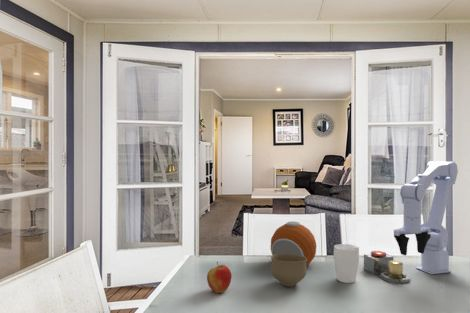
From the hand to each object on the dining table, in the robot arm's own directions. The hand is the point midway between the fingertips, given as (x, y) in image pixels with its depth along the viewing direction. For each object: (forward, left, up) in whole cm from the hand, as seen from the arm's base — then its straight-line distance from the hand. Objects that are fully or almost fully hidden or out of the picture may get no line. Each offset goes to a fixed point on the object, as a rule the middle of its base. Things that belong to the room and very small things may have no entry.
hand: (412, 253), depth 130 cm
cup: (+24, -6, -10) cm, 26 cm away
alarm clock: (+34, -29, -10) cm, 46 cm away
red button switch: (+6, -7, -9) cm, 13 cm away
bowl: (+46, -8, -10) cm, 47 cm away
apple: (+71, -9, -10) cm, 72 cm away
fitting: (+6, -2, -9) cm, 11 cm away
